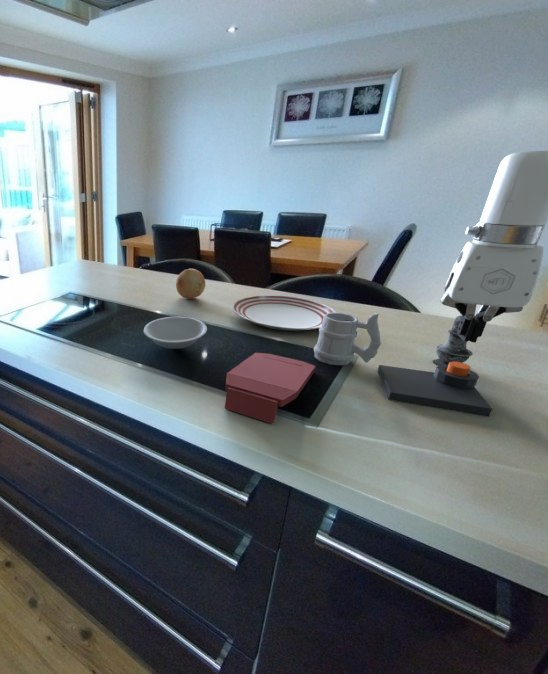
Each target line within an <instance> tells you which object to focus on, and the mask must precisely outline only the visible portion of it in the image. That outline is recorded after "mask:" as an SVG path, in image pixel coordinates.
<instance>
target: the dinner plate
mask: <svg viewBox="0 0 548 674" xmlns="http://www.w3.org/2000/svg"><path fill="white" fill-rule="evenodd" d="M231 309H232V311H233V312H234V314H235V315H237V316H238V317H240V318H242V319H244V320H246V321H248V322H250V323H253V324H255V325H257V326H260V327H264V328H267V329H271V330H278V331H285V332H297V331H298V332H300V331H309V330H310V331H311V330H317V329H318V330H319V328H320V326H321V325H322V322H323V318H324V315H326V314H327V313H333V312H334V313H338V312H337V311H336V310H335V309H334V308H332V307H331V306H328V305H326V304H324V303H322V302H319V301H315V300H313V299H309V298H303V297H298V296H292V295H283V294H281V295H280V294H258V295H257V294H256V295H250V296H246V297H241V298H239V299H237V300H235V301H234V302H233V303H232V304H231Z"/></svg>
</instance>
